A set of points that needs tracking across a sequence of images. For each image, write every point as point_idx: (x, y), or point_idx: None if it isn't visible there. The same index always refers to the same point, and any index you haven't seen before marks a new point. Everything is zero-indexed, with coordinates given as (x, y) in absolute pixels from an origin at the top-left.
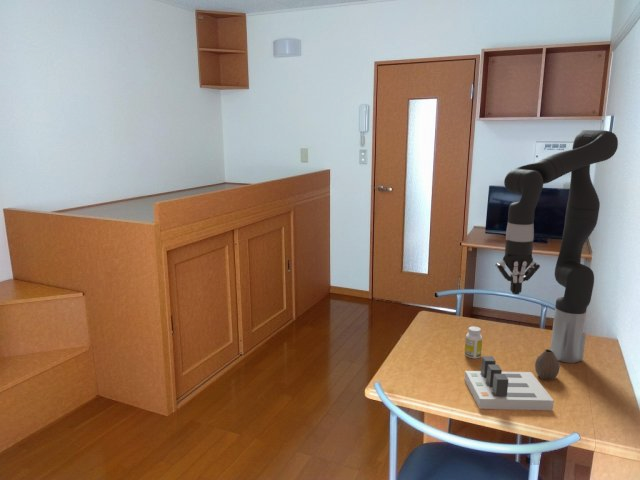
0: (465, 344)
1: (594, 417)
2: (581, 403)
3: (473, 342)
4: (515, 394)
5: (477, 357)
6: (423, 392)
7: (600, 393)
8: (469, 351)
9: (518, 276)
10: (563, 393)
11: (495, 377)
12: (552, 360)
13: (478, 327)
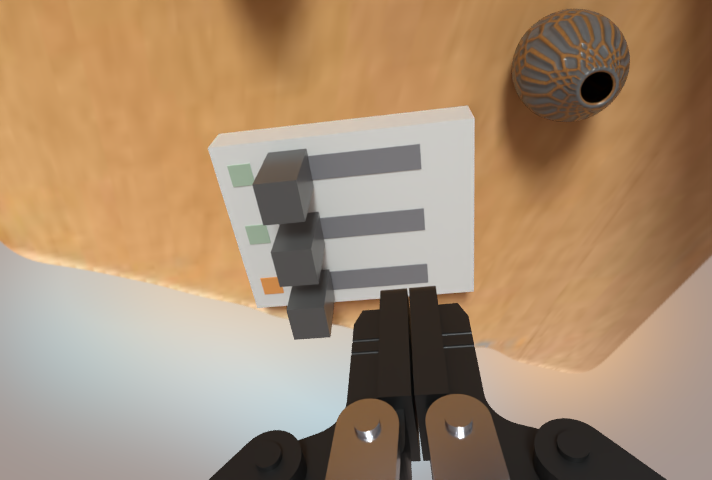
0: None
1: (572, 287)
2: (579, 226)
3: None
4: (365, 277)
5: None
6: (98, 232)
7: (693, 157)
8: None
9: (464, 476)
10: (553, 176)
11: (291, 322)
12: (585, 115)
13: None
